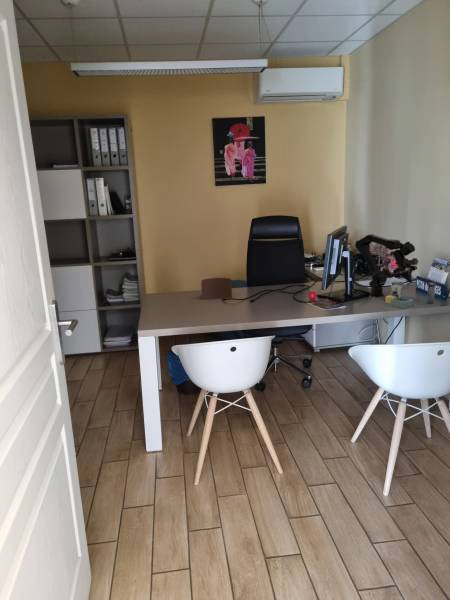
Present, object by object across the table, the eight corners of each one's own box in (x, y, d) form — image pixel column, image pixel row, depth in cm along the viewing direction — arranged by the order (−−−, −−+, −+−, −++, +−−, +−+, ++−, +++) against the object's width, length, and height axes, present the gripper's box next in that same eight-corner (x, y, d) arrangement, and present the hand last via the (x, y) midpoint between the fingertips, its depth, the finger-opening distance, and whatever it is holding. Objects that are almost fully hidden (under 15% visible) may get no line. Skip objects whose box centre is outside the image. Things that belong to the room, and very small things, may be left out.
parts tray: (390, 305, 273) (391, 299, 272) (399, 303, 278) (399, 296, 277) (404, 308, 266) (405, 302, 265) (413, 305, 271) (413, 299, 270)
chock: (385, 302, 280) (385, 296, 279) (389, 301, 282) (389, 295, 281) (392, 304, 276) (393, 297, 275) (396, 303, 278) (396, 296, 277)
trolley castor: (389, 301, 283) (389, 286, 280) (394, 299, 286) (395, 284, 284) (396, 302, 279) (397, 287, 276) (402, 301, 282) (403, 285, 280)
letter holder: (232, 298, 304) (231, 277, 300) (202, 299, 303) (201, 278, 300) (231, 295, 313) (230, 274, 310) (202, 296, 313) (201, 275, 309)
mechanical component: (408, 298, 288) (409, 282, 285) (391, 298, 290) (392, 282, 287) (407, 297, 290) (408, 281, 288) (390, 297, 292) (391, 281, 290)
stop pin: (424, 303, 276) (426, 283, 273) (428, 301, 278) (430, 282, 276) (431, 304, 273) (433, 284, 270) (435, 303, 275) (436, 283, 272)
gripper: (404, 253, 267) (415, 278, 263) (419, 252, 279) (430, 276, 275) (388, 262, 275) (398, 286, 271) (403, 260, 287) (414, 283, 283)
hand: (411, 282), depth 275 cm, fingers closed
